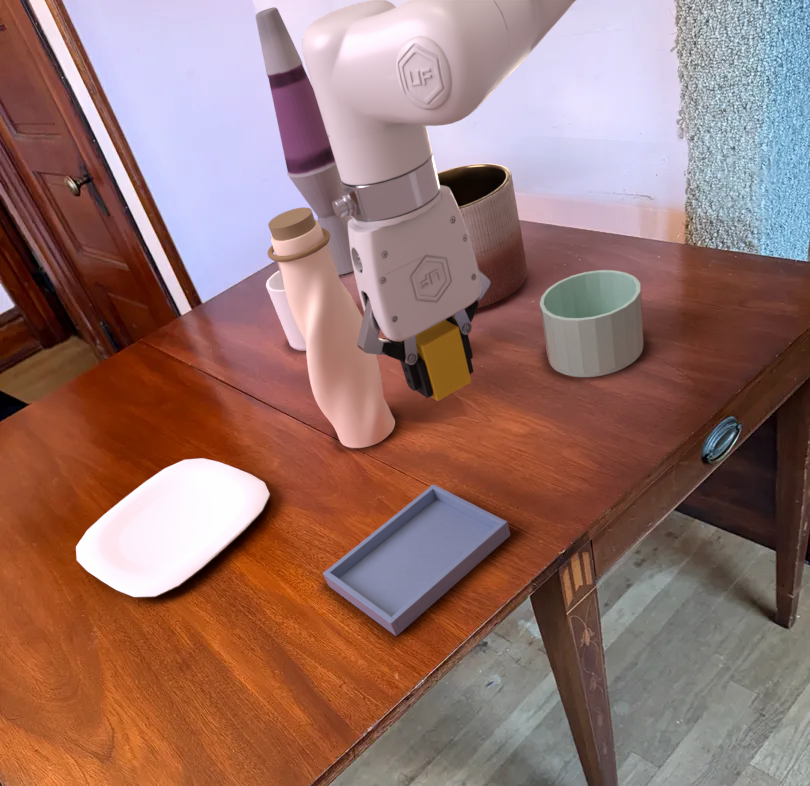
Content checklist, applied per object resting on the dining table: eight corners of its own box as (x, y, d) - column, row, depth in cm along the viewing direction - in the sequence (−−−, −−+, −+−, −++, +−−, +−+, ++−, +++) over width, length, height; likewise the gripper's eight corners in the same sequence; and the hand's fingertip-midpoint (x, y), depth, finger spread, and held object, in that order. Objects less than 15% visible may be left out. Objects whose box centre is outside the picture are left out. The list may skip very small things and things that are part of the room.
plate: (63, 559, 94) (56, 550, 93) (191, 457, 104) (186, 447, 103) (157, 621, 81) (150, 611, 80) (293, 497, 91) (288, 487, 90)
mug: (331, 351, 116) (309, 289, 109) (279, 352, 120) (254, 293, 113) (364, 308, 123) (345, 249, 116) (313, 311, 128) (292, 254, 121)
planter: (512, 251, 124) (496, 152, 114) (542, 294, 111) (526, 187, 100) (410, 284, 125) (385, 188, 115) (427, 331, 112) (400, 228, 102)
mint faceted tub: (643, 321, 99) (641, 264, 93) (643, 372, 91) (640, 312, 85) (552, 332, 103) (544, 277, 97) (544, 381, 95) (535, 325, 89)
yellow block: (449, 368, 75) (435, 314, 71) (471, 382, 72) (458, 326, 68) (416, 387, 74) (400, 333, 70) (437, 401, 71) (422, 346, 67)
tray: (437, 497, 84) (433, 483, 83) (510, 535, 77) (507, 521, 75) (328, 586, 78) (322, 573, 77) (396, 636, 71) (390, 623, 70)
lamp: (318, 281, 136) (227, 28, 110) (321, 257, 144) (237, 15, 117) (374, 266, 134) (296, 5, 108) (375, 243, 142) (302, -7, 116)
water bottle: (314, 436, 100) (227, 231, 81) (363, 400, 103) (290, 195, 84) (362, 460, 93) (279, 242, 74) (412, 420, 96) (345, 203, 78)
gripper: (323, 243, 56) (389, 437, 68) (502, 154, 59) (535, 353, 72) (285, 223, 61) (352, 407, 73) (452, 143, 65) (489, 330, 77)
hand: (442, 378), depth 72 cm, fingers closed on yellow block, 4 cm apart
